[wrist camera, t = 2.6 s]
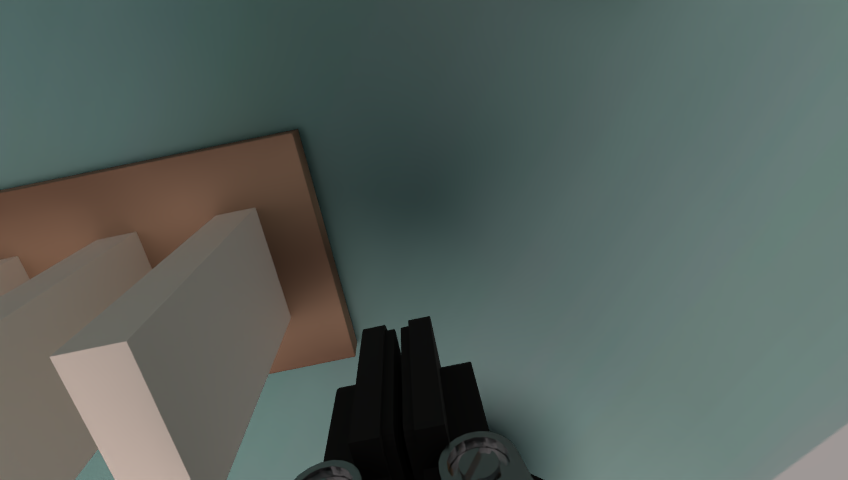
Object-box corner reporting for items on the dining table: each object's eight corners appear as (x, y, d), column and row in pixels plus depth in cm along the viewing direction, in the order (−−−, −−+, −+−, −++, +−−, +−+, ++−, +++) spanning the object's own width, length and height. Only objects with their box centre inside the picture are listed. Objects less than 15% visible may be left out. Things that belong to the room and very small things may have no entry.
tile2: (145, 347, 21) (-54, 574, 12) (96, 239, 19) (-181, 403, 10) (181, 339, 21) (12, 560, 12) (136, 231, 19) (-105, 388, 10)
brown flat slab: (-334, 259, 20) (-378, 270, 19) (297, 129, 20) (291, 132, 18) (-183, 451, 23) (-212, 471, 22) (357, 342, 23) (355, 356, 22)
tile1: (254, 324, 21) (144, 534, 12) (215, 215, 19) (49, 356, 10) (291, 317, 21) (209, 521, 12) (255, 207, 19) (126, 341, 10)
